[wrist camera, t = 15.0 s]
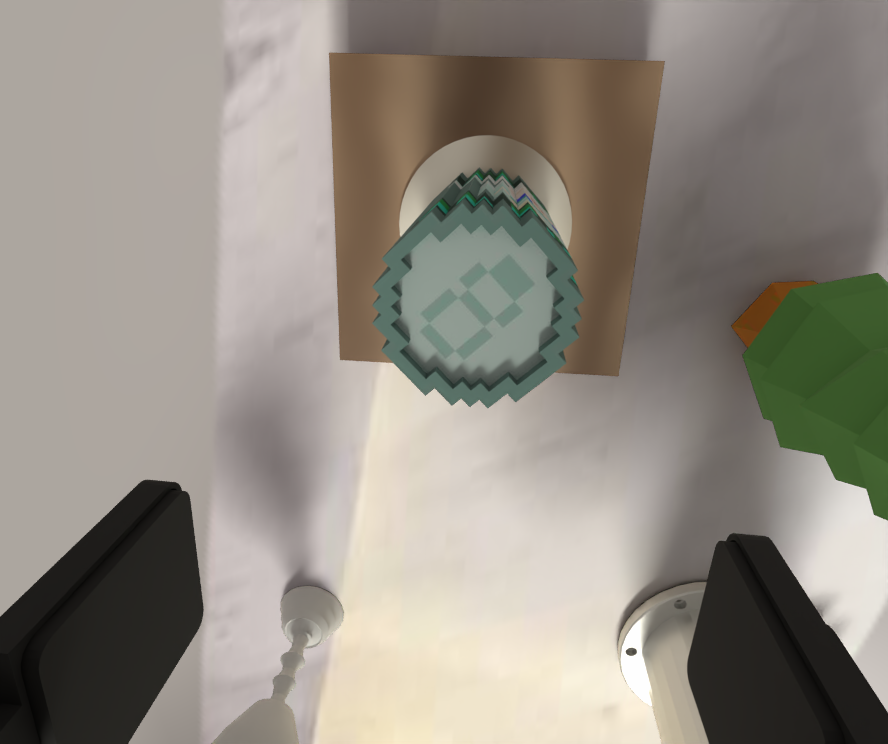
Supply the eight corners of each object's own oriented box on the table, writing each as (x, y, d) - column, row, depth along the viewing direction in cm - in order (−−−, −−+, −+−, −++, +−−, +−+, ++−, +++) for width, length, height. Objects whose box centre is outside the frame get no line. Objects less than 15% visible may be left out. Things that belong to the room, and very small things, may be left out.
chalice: (288, 652, 51) (184, 910, 34) (252, 587, 48) (122, 831, 32) (370, 634, 49) (303, 896, 33) (337, 567, 47) (247, 812, 30)
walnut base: (646, 67, 33) (666, 60, 29) (607, 352, 39) (619, 377, 35) (348, 60, 34) (327, 52, 30) (354, 337, 40) (338, 361, 36)
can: (569, 235, 32) (621, 321, 18) (481, 310, 34) (467, 438, 20) (492, 143, 31) (485, 160, 17) (405, 226, 33) (334, 303, 19)
